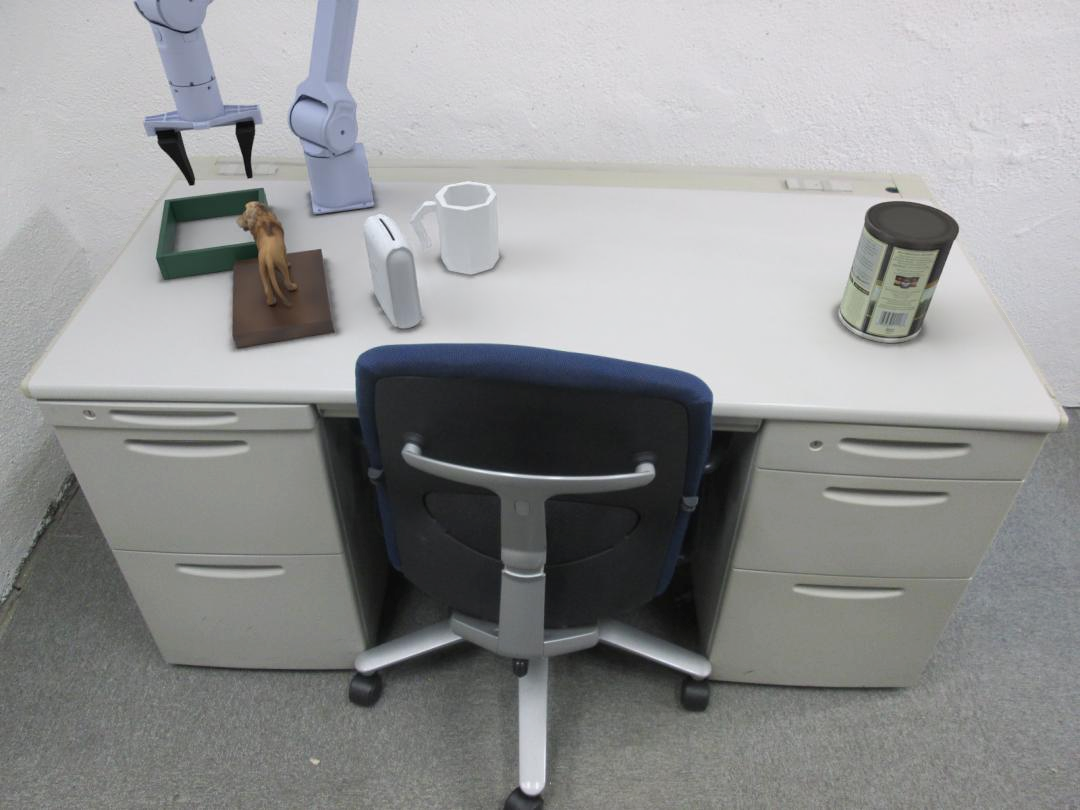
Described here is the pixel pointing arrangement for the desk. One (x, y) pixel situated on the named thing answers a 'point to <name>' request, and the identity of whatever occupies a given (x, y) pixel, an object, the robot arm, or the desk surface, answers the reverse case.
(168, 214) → the storage box
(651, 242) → the desk surface
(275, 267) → the lion figurine
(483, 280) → the desk surface
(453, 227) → the mug
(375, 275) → the photo printer
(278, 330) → the stand
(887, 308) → the coffee can
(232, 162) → the desk surface
